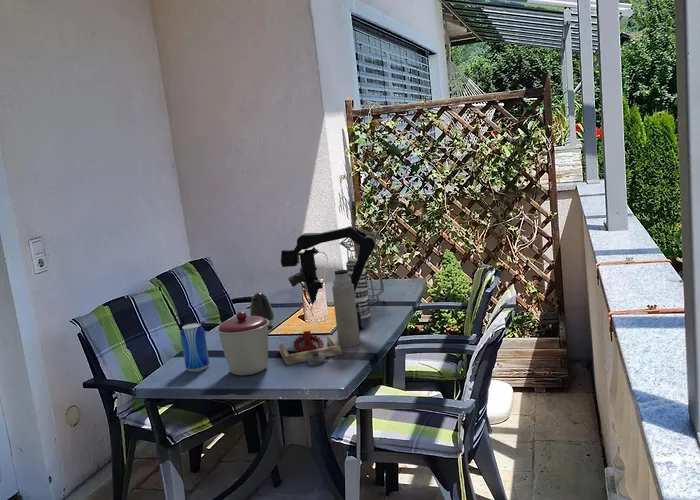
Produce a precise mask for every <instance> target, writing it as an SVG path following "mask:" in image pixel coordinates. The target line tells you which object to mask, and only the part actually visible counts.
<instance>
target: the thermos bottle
mask: <svg viewBox="0 0 700 500" xmlns="http://www.w3.org/2000/svg"><path fill="white" fill-rule="evenodd" d="M334 278H335V279H333V280H332V281H333V283H332V287H331V289H332V297H333V304H334V306H333V307H334V314H335V323H336V331H337V340H338V341H337V342H338V343H339V345H340V346H341V348H342V347H343V348H351V347H355V346H358V345H360V343H361V339H360V330H359V328H358V319H357V311H356V302H355V293H354V284H352V283H351V281H352V280H351V278H349V277H348V270H347V269H338V270H335V271H334Z"/></svg>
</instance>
